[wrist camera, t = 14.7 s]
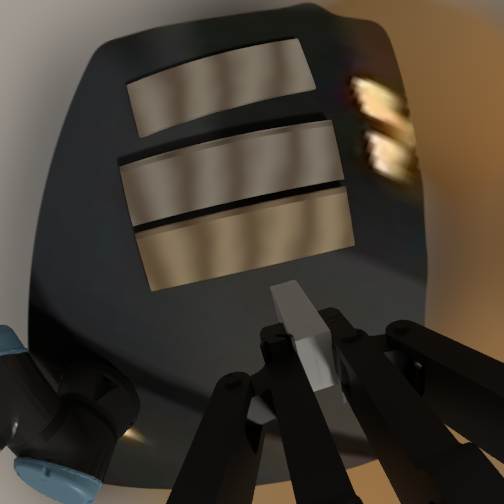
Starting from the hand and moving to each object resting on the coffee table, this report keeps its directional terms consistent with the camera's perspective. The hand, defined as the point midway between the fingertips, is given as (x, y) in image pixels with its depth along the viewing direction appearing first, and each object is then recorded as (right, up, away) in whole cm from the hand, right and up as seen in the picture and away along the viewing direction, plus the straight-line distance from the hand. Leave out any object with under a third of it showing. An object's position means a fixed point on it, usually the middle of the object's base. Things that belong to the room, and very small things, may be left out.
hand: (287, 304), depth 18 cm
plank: (-6, +25, +18) cm, 32 cm away
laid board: (-3, +5, +22) cm, 23 cm away
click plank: (-5, +14, +20) cm, 25 cm away
